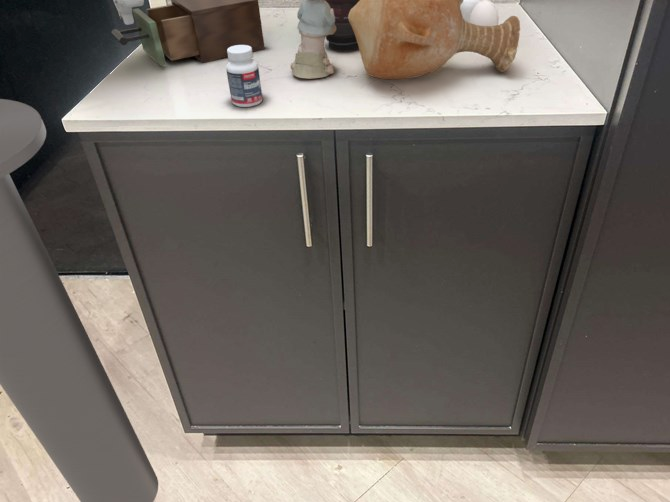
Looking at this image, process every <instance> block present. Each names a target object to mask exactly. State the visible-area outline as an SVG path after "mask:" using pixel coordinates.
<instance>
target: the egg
mask: <svg viewBox="0 0 670 502" xmlns="http://www.w3.org/2000/svg"><path fill="white" fill-rule="evenodd" d="M499 19H500V18H499V12H498V8H497V6H496V5H495V4H494V3H493V1H491V0H483V1H481V2H479V3H478V4H476V6H475V7H474V8H473V10H472V12H471V14H470V18H469V23H471V24H474V25H479V26H496V25H499V21H500V20H499Z"/></svg>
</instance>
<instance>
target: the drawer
mask: <svg viewBox="0 0 670 502" xmlns="http://www.w3.org/2000/svg"><path fill="white" fill-rule="evenodd" d="M146 13H147V14H146ZM146 13H145V12H144V11H142V10H141V9H140V8H138V7H136V8H132V15H133V18H134V22H135V24H136V27H134V28H128V29H123V30H119V29H116V28H113V29H112V30H111V35H112V36H113V37H114V39H115V40H117V42H118V43H119V44H120V45H122V46H126V45H127V44H128V43H129V42H135V41H139V40H140V43H141V47H142V50H143V51H144V52H145V53H146V54H147V55H148V56H149V57H150V58H151V59H153V61H154V62H155V63H157V64H158V66H160V67H163V66H166V65H167V62H166V57H167V59H169V60H170V61H177V60H181V59H186V58H191V57H195V56H196V55H199V50H198V46H197V41H196V36H195V31H194V27H193V22H192V17H191V14H189V13H188V12H186V11H185V10H183V9H182V8H181V7H179V6H178V5H176V4H172V3H171V4H167V5H161V6H156V7H150V8H146ZM134 33H138V35H134V36H129V37H126V36H125V35H127V34H128V35H129V34H134ZM165 56H166V57H165Z"/></svg>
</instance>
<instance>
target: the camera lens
mask: <svg viewBox="0 0 670 502" xmlns="http://www.w3.org/2000/svg"><path fill="white" fill-rule="evenodd" d="M325 1H326V2H327V3H328V4H329V6H330V8H332V9H333V10H334V16H335V23H334V24H335V26H336V31H335V33H334V34H332V35H327V36H325V40H326V41H327V42H328V48H329V49H330V50H332V51H335V52H344V53H345V52H353V51H356V50H359V46H358V43H357V40H356V36H355V34H354V31H353V28H352V26H351V24H350V22H349V19H348V15H349V12H350V10H351V9H352V8H353V7H354V6H355V5H356V4H357V3H358V2H359V1H360V0H325Z"/></svg>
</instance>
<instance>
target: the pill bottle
mask: <svg viewBox="0 0 670 502" xmlns="http://www.w3.org/2000/svg"><path fill="white" fill-rule="evenodd" d="M227 53H228V57H227V58H228V60H229V61H228V62H227V63H226V65H225V71H226V77H227V82H228V89H229V94H230V99H231V100H230V101H231V103H232V104H233V106H236V107H240V108H250V107H255V106H258V105H260V104H261V103H262V102H263V90H262V83H261V77H260V68H259V64H258V62H257V61H256V60H255V59H253V58H254V52H252V48H251V47H250V46H248V45H235V46H231V47H229V48H228V49H227Z"/></svg>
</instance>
